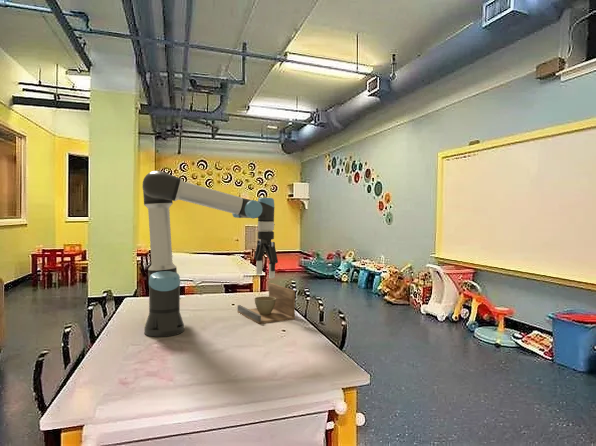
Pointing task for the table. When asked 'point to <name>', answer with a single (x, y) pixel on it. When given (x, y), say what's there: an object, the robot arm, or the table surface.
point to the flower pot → (265, 304)
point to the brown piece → (282, 307)
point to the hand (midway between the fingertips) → (265, 276)
